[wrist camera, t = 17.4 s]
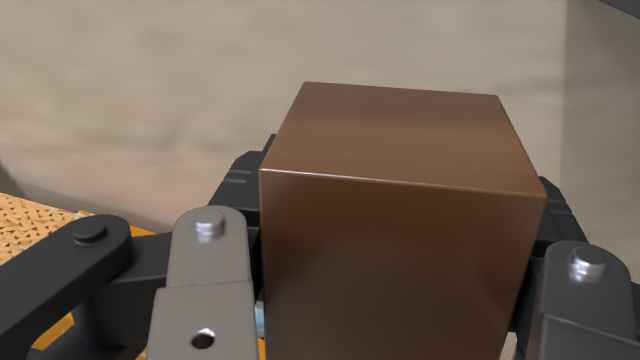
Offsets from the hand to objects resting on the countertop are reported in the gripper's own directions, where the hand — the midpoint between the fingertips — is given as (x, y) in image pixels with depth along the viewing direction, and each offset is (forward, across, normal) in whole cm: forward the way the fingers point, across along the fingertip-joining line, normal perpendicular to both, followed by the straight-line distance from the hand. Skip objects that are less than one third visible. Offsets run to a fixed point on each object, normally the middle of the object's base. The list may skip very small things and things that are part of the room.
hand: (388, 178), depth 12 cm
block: (0, 0, 0) cm, 0 cm away
